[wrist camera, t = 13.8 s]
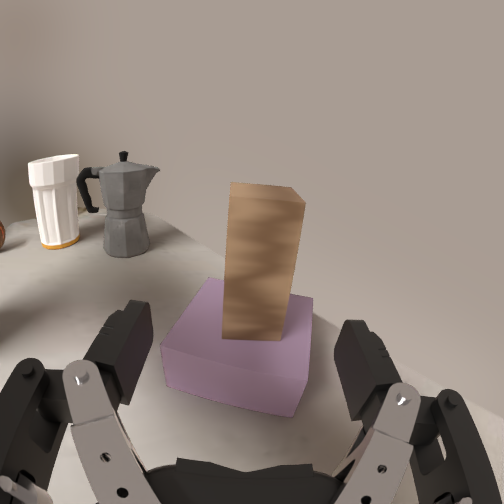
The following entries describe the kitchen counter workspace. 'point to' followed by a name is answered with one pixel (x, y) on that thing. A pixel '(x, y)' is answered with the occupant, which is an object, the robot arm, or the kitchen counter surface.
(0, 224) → the tin
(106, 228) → the coffeepot
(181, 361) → the base block
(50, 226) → the cup
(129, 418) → the kitchen counter surface
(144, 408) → the kitchen counter surface
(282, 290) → the walnut block
